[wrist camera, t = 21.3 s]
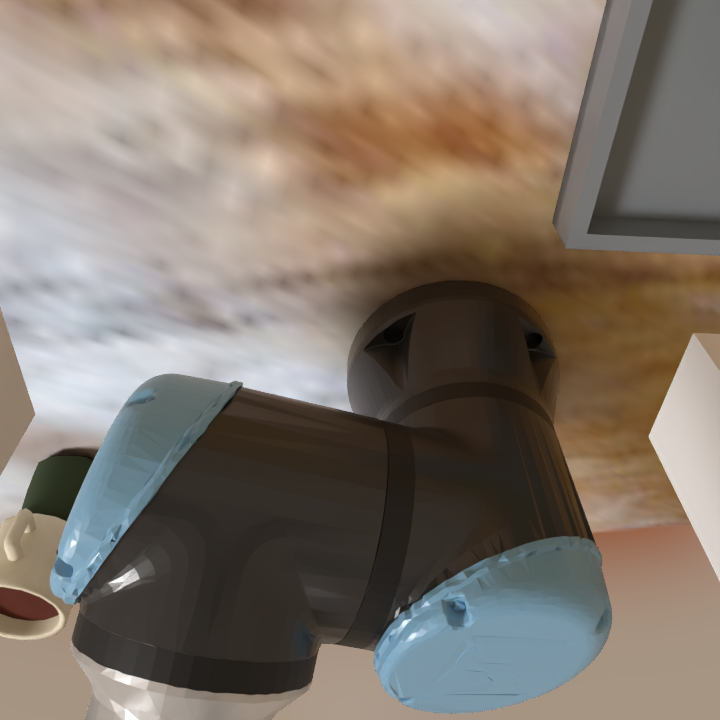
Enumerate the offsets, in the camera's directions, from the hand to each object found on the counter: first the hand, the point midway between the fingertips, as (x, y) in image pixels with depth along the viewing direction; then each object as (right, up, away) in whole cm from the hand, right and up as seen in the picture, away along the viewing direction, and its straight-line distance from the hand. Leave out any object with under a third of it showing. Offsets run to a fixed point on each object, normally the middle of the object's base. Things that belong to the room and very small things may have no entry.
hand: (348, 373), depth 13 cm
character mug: (-24, -9, +43) cm, 50 cm away
